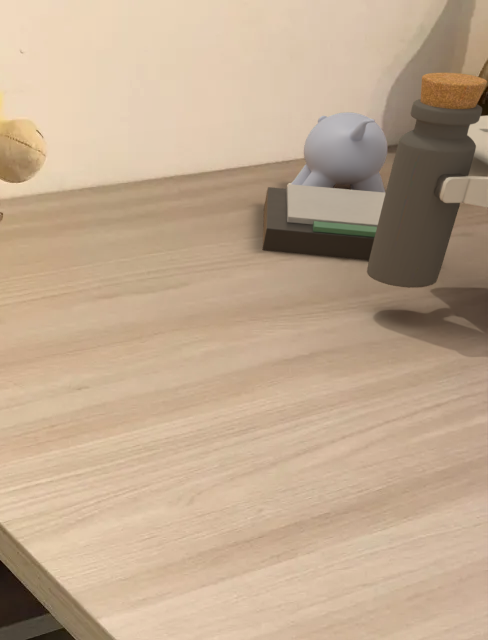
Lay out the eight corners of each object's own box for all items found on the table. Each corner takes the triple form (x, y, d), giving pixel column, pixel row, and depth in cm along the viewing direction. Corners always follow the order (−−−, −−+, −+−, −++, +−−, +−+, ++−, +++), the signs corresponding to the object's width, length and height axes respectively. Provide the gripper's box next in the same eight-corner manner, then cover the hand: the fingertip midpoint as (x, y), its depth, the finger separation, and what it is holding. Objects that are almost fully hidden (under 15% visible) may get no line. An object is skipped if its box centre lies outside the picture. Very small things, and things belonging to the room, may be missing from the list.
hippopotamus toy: (369, 179, 125) (391, 92, 119) (394, 217, 114) (419, 122, 108) (280, 174, 126) (297, 87, 120) (295, 211, 114) (314, 116, 108)
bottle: (397, 292, 85) (453, 88, 75) (351, 269, 89) (398, 73, 80) (452, 283, 87) (513, 83, 77) (404, 261, 91) (456, 68, 81)
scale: (412, 223, 112) (420, 194, 110) (427, 269, 101) (437, 237, 99) (263, 209, 114) (268, 181, 113) (261, 253, 103) (267, 221, 101)
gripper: (639, 253, 79) (471, 259, 77) (497, 179, 94) (355, 182, 92) (676, 164, 75) (500, 168, 73) (521, 102, 90) (373, 104, 88)
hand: (418, 175), depth 83 cm, fingers closed on bottle, 6 cm apart
